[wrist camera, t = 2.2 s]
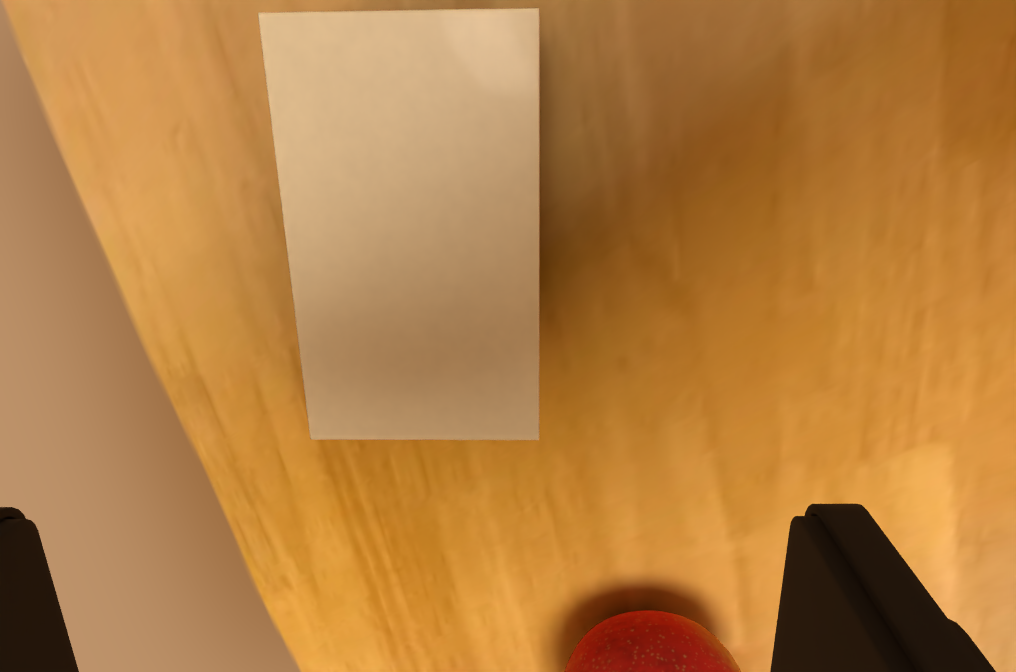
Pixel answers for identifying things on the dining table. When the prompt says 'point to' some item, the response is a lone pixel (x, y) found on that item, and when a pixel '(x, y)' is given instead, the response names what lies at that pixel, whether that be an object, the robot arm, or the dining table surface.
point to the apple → (650, 646)
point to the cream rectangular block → (411, 217)
